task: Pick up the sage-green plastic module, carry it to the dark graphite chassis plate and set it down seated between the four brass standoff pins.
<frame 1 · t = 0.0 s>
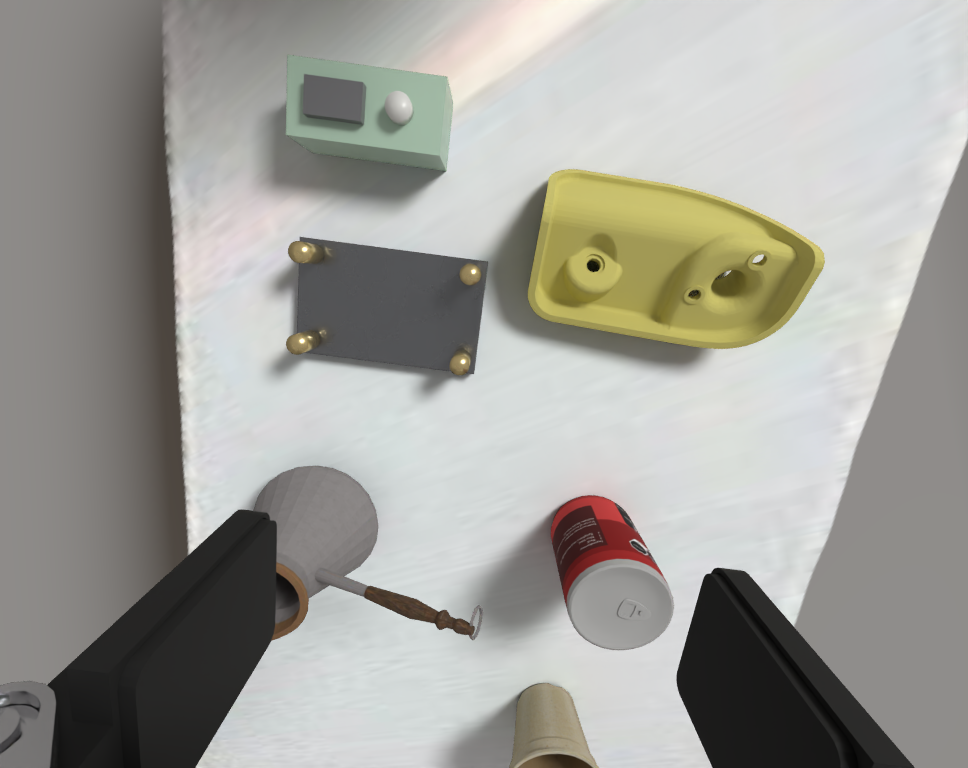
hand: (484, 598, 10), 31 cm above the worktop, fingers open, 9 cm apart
flower pot: (544, 702, 49), on the worktop
coffee pot: (377, 509, 44), on the worktop
chassis: (392, 306, 39), on the worktop
plastic component: (641, 267, 38), on the worktop
canned food: (589, 526, 44), on the worktop
module: (382, 129, 36), on the worktop
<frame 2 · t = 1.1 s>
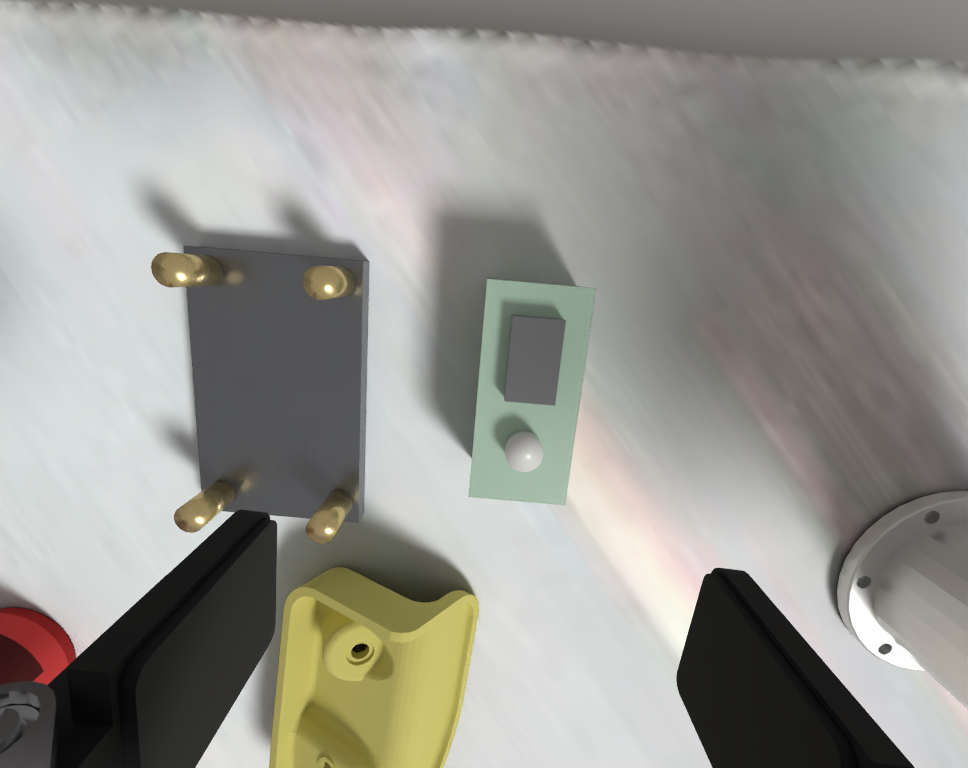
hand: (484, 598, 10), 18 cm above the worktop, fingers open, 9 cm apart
chassis: (286, 388, 27), on the worktop
plastic component: (373, 674, 32), on the worktop
canned food: (29, 648, 32), on the worktop
module: (521, 376, 27), on the worktop
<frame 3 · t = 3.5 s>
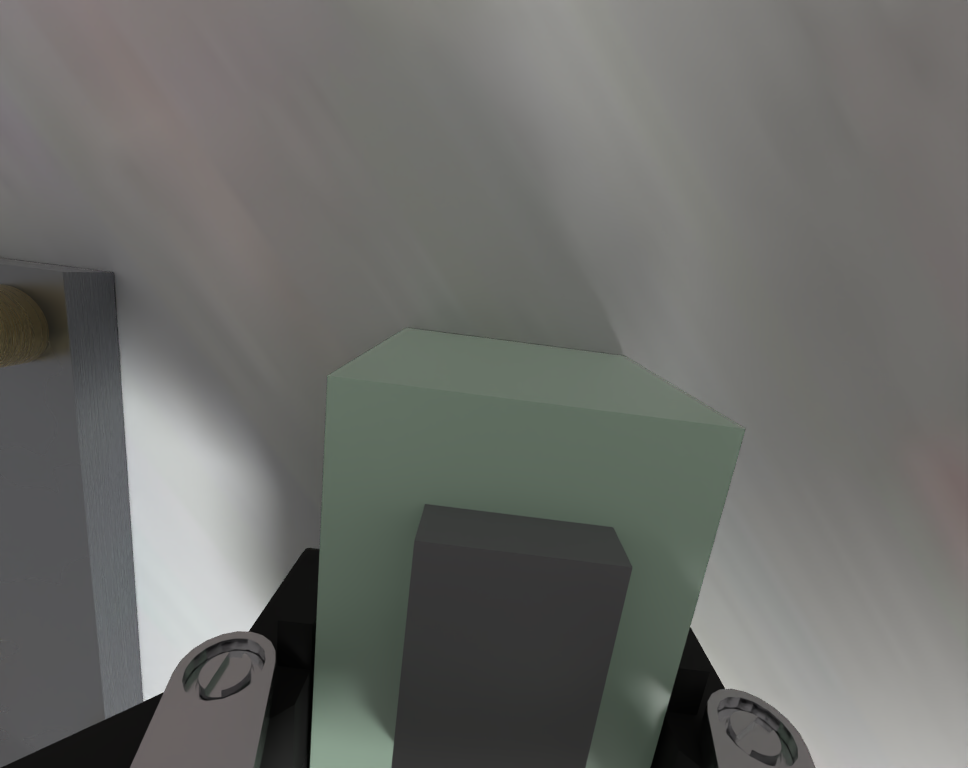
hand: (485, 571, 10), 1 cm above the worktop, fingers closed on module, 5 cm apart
module: (485, 553, 11), on the worktop, touching gripper
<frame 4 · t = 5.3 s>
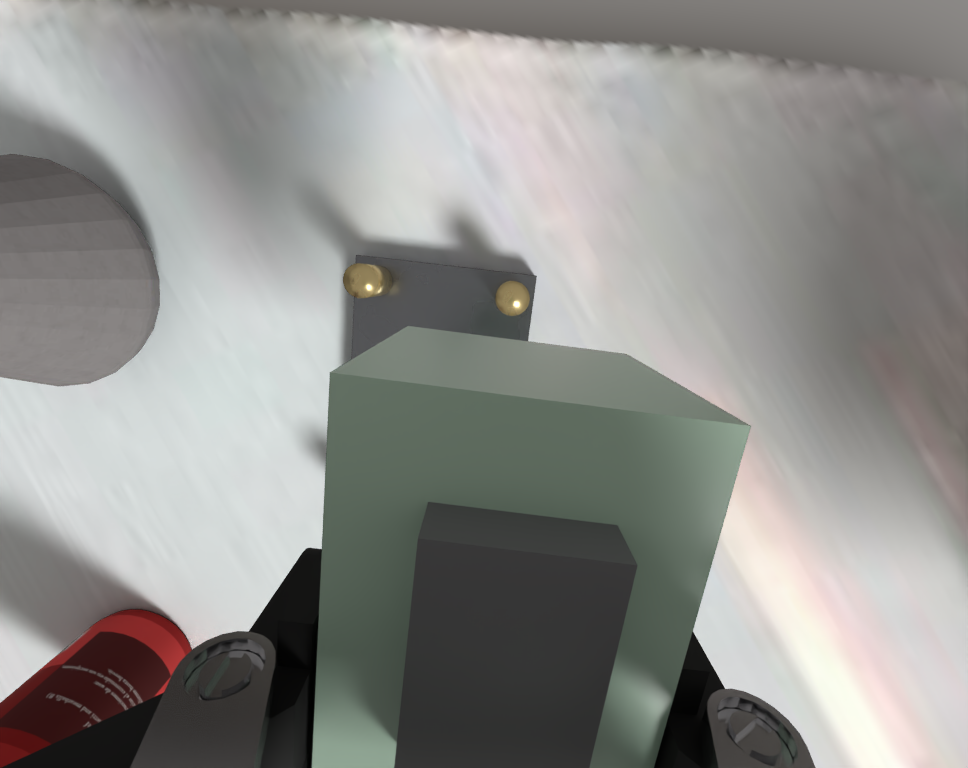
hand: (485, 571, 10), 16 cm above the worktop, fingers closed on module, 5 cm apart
coffee pot: (108, 361, 27), on the worktop
chassis: (436, 400, 27), on the worktop
canned food: (147, 650, 32), on the worktop
module: (486, 552, 11), point 15 cm above the worktop, touching gripper
when the fingers open (3 cm above the worktop, at t = 7.3 s): module drops 1 cm, resting on chassis.
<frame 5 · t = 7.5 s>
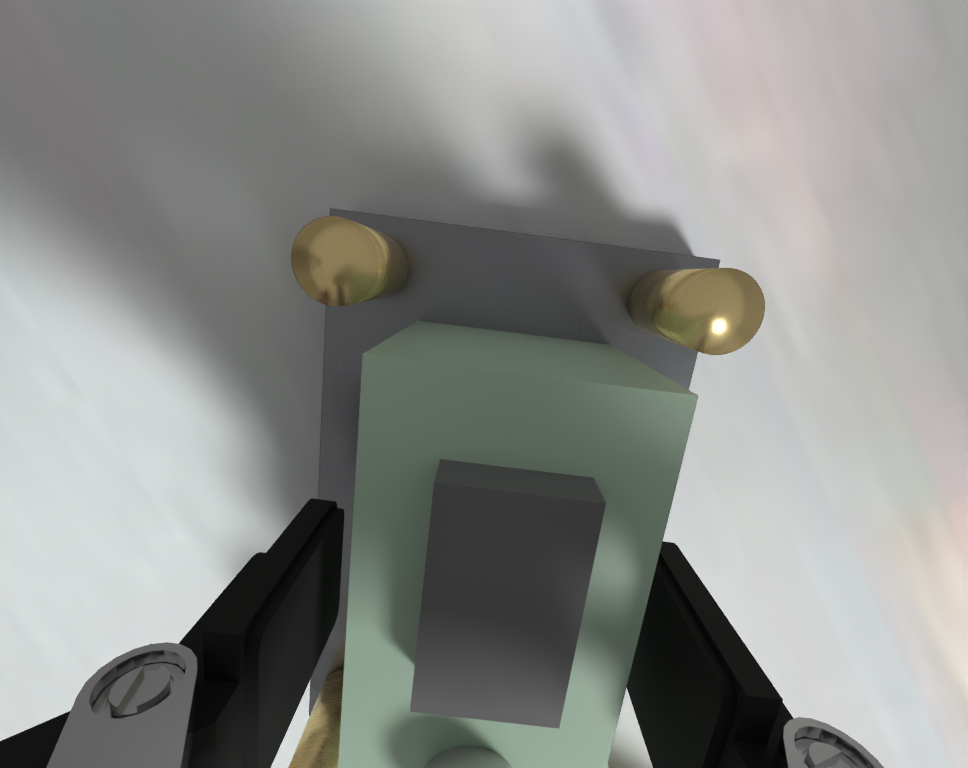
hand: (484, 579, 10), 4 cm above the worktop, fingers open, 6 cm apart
chassis: (486, 499, 14), on the worktop
module: (487, 523, 13), point 1 cm above the worktop, touching chassis
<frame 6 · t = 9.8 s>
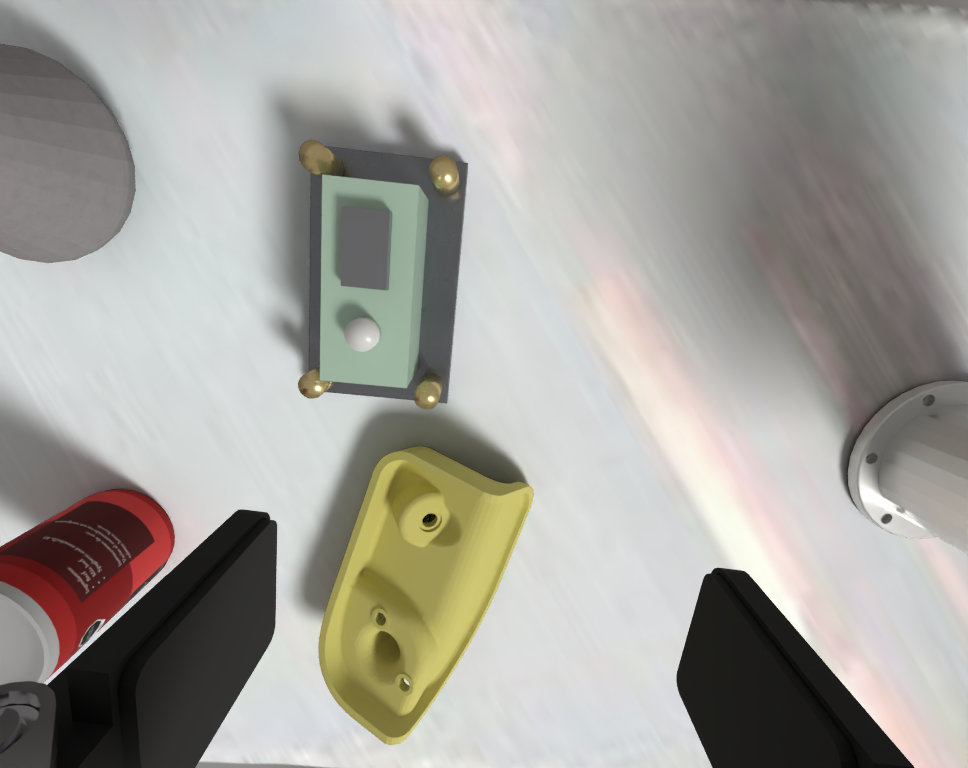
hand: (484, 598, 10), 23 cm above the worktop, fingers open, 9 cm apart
coffee pot: (87, 251, 30), on the worktop
chassis: (387, 282, 30), on the worktop
plastic component: (421, 553, 36), on the worktop
canned food: (130, 530, 35), on the worktop
module: (384, 285, 29), point 1 cm above the worktop, touching chassis
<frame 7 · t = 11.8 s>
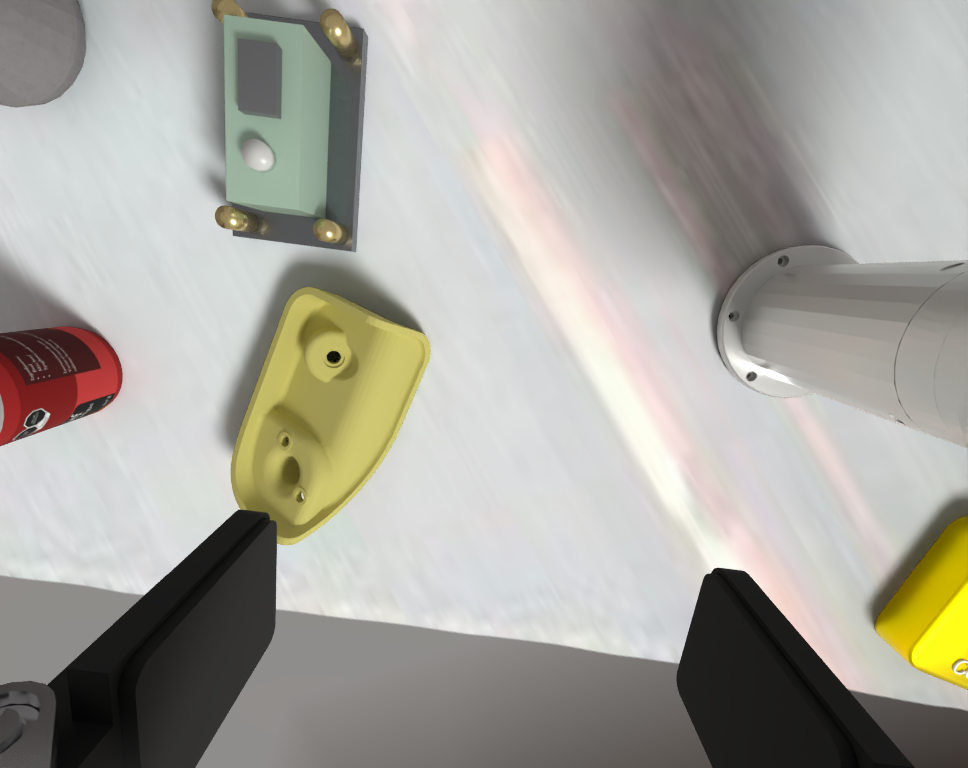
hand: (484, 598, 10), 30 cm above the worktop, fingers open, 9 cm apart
coffee pot: (50, 109, 35), on the worktop
chassis: (301, 142, 35), on the worktop
plastic component: (333, 401, 41), on the worktop
canned food: (85, 369, 40), on the worktop
module: (295, 139, 34), point 1 cm above the worktop, touching chassis
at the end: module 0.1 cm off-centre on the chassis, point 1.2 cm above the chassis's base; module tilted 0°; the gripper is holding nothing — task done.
